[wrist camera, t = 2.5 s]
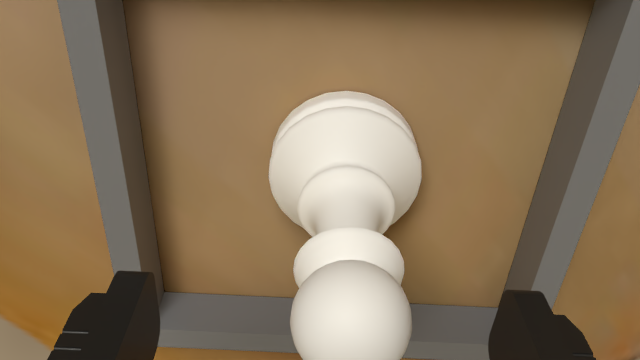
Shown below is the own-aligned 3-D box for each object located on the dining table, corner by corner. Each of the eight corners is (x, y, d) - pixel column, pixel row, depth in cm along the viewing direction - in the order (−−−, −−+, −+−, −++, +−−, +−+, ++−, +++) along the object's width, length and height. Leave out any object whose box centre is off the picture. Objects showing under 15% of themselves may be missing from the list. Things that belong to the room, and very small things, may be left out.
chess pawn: (317, 231, 21) (310, 459, 13) (244, 130, 19) (185, 336, 11) (439, 178, 20) (507, 398, 12) (376, 61, 17) (410, 242, 10)
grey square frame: (658, -84, 15) (700, -72, 13) (516, 325, 24) (530, 363, 22) (68, -117, 15) (34, -110, 13) (143, 308, 23) (128, 345, 22)
